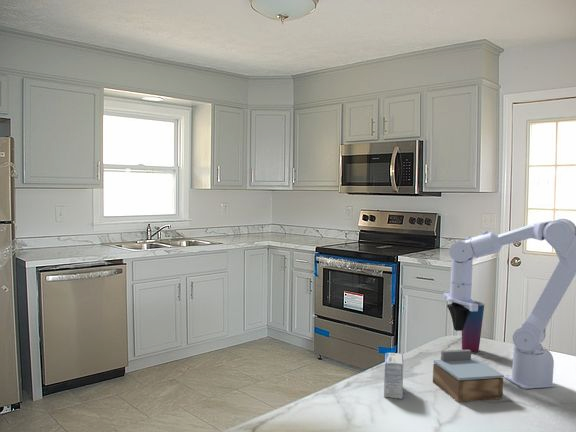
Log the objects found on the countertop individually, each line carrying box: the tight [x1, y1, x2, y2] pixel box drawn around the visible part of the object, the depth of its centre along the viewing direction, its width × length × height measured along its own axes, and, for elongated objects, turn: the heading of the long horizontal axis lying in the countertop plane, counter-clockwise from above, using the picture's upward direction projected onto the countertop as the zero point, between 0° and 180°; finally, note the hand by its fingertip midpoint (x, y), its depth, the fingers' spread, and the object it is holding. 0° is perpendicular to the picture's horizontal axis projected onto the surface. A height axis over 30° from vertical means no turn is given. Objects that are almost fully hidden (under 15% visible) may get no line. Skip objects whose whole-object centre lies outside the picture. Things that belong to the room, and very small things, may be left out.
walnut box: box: [432, 363, 504, 403], centre depth 126 cm, size 12×12×5 cm
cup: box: [461, 300, 485, 354], centre depth 157 cm, size 7×7×15 cm
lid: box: [433, 349, 505, 381], centre depth 126 cm, size 12×12×3 cm
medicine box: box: [383, 352, 404, 400], centre depth 124 cm, size 8×4×9 cm, turn 168°
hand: (458, 330), depth 143 cm, fingers closed
